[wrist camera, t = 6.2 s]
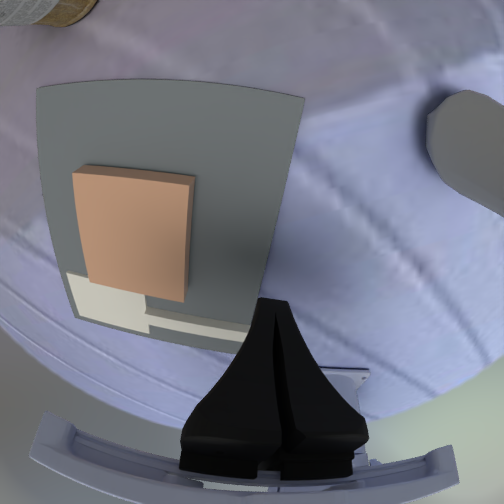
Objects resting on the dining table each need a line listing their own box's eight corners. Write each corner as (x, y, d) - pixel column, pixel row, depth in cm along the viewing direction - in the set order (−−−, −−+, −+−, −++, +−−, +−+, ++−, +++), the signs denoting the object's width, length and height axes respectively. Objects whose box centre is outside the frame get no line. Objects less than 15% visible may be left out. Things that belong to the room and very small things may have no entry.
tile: (183, 302, 18) (89, 282, 18) (188, 286, 19) (99, 268, 19) (189, 185, 14) (72, 172, 13) (196, 174, 15) (86, 163, 14)
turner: (254, 308, 20) (254, 316, 20) (244, 348, 23) (243, 356, 22) (68, 270, 19) (63, 276, 19) (80, 312, 22) (77, 319, 22)
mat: (242, 351, 24) (242, 355, 24) (76, 314, 23) (74, 317, 23) (304, 98, 13) (305, 98, 12) (40, 87, 12) (36, 88, 11)
